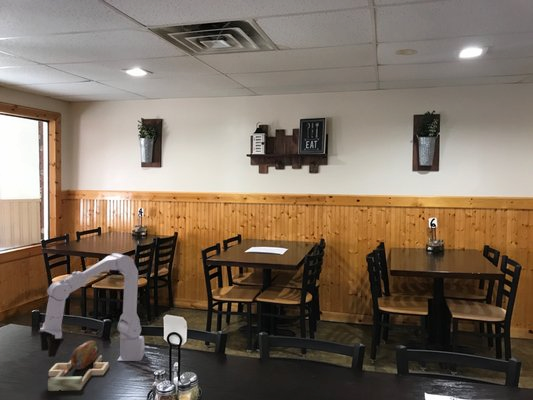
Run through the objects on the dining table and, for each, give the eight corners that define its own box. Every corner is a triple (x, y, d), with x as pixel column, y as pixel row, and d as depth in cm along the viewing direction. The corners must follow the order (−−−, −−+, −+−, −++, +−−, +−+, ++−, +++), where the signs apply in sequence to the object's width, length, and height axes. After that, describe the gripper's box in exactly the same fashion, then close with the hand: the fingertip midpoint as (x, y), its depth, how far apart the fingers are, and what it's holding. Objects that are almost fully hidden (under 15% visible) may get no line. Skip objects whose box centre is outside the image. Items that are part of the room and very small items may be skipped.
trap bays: (108, 367, 171) (108, 362, 171) (103, 375, 164) (103, 369, 164) (56, 368, 169) (56, 363, 169) (48, 376, 162) (48, 371, 162)
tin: (76, 373, 165) (76, 351, 165) (69, 372, 166) (69, 350, 166) (99, 357, 180) (99, 337, 180) (92, 356, 181) (92, 337, 180)
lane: (102, 360, 177) (102, 350, 177) (80, 390, 152) (80, 378, 152) (74, 360, 177) (74, 350, 176) (47, 390, 151) (47, 379, 151)
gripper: (36, 311, 161) (30, 348, 160) (49, 321, 151) (43, 360, 150) (56, 311, 166) (50, 346, 165) (70, 320, 156) (64, 358, 155)
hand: (48, 353), depth 158 cm, fingers open, 7 cm apart
